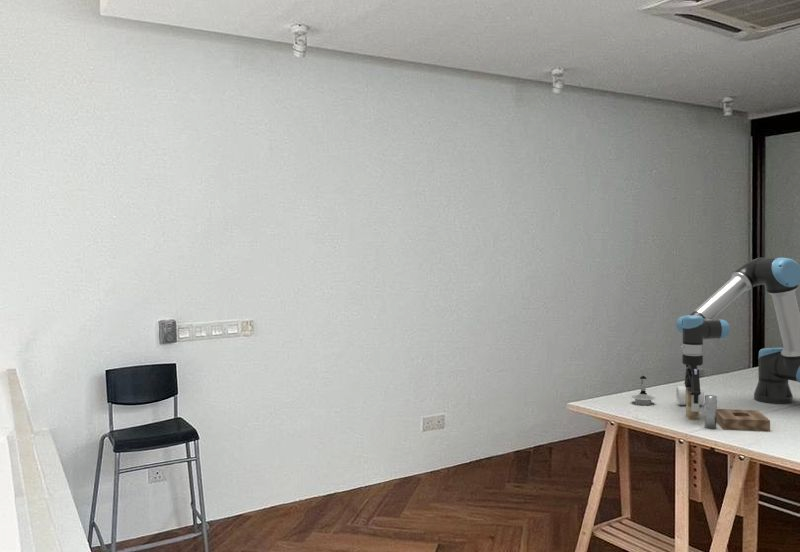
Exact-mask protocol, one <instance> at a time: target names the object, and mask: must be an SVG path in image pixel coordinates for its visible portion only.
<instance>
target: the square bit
mask: <svg viewBox="0 0 800 552" xmlns="http://www.w3.org/2000/svg"><path fill="white" fill-rule="evenodd" d="M691 393H692V387H686V405H685V409H686V411H685V412H686V413H685V417H686V418H687V420H696V419H699V420H700V411H699V412H692V411H691V405H692V395H690V394H691Z"/></svg>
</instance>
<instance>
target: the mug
mask: <svg viewBox="0 0 800 552" xmlns="http://www.w3.org/2000/svg"><path fill="white" fill-rule="evenodd" d="M685 388H686V387H685V385H684V386H681V385H680V386H676V389H675V399H676V404H677V405H678V406H686V404H685ZM700 392H701V394H700V395H699V407H700V406H701V407H702V406H703V405H705V391H704V388H703V387H702V386H700Z"/></svg>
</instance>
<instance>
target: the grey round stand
mask: <svg viewBox="0 0 800 552" xmlns="http://www.w3.org/2000/svg"><path fill="white" fill-rule="evenodd" d="M639 379H640V380H641V385H640V387H642V386H644V385H643V383H644V382H643V380H646V379H647V377H646V376H645V375H642V376H640V377H639ZM646 390H647V388H646V387H642V388H640V392H639V394H634V395H631V396H630V397H631V399H634V400H635V404H636V405H638V406H639V405H640V406H650V405H652V401H653V400H655V399H656V397H655V396H653V395H649V394H647V393H648V392H646Z"/></svg>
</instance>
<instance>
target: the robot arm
mask: <svg viewBox="0 0 800 552" xmlns="http://www.w3.org/2000/svg"><path fill="white" fill-rule="evenodd" d="M799 284H800V264H799V263H798V262H797V261H796V260H795V259H792V258H789V257H757V258H755V259H754V258H753V259H751V260H750V261H747V262H746V263H744V264H743V265H741V266H740V267H739V268H738V269H736V270H735V271H734V272H733V273H732V274H731V278H730V279H729V280H728V281H726V282H725V283H724V284H723V285H722V286H721V287H720V288H718V289H717V290H716V291H714V293H713V294H711V295H710V296H709V297H707V299H706V300H705V301H704V302H702V303H701V304H700V305H699V306H698V307H697V308H695V310H693V311H692V312H691V313H690V314H688V315H682V316H679V318H677V320H676V324H675V325H676V328H677V331H678V332H680V333H681V334H682V345H681V346H680V348H681V349H682V353H683V354H682V357H681V358H682V359H681V360H682V361H681V363H682V364H683V365H685V376H684V377H685V378H684V383H683V384H684V386H685V387H692V393H691V394H690V395H692V405H691V411H692V412H699V413H700V406H699V395H700V394H701V392H700V387H701V382H700V369H698V366H702V365H703V364H704V363H703V361H704V360H703V359H704V356H703V354H704V340H711V339H719V340H720V339H724V338H727V337H728V336H729V334H730V331H731V330H730V329H731V328H730V325H729V324H730V323H729V322H728V321H726V320H725V319H719V318H718V319H717V318H716V317H718V315H719V314H721V312H723V311H724V310H725V309H726V308H727V307H728V306H730V304H732V303H733V302H734V301H735V300H736V299H738V297H741V295H742V294H744V292H745V291H746V292H747V291H750V290H752V289H753V288H755V287H757V286H764V287H765V290H766V292H767V294H769V295H771V299H772V303H773V307H774V311H775V316H776V319H777V324H778V329H779V332H780V333H779V334H780V338H781V342H782V346H783V347H766V348H765V347H763V348H761V349H760V350H759V351H758V357H757V359H758V367H757V369H758V370H757V371H758V382H757V385H756V387H755V390H754V392H753V399H754V400H755V401H759V402H761V403H770V404H789V403H793V402H794V396H793V392H792V390H791V387H790V383H789V381H793V382H797V383H800V308H799V305H798V299H797V295H796V291H797V290H798V289H799ZM715 318H716V319H715ZM685 404H686V388H685Z"/></svg>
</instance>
